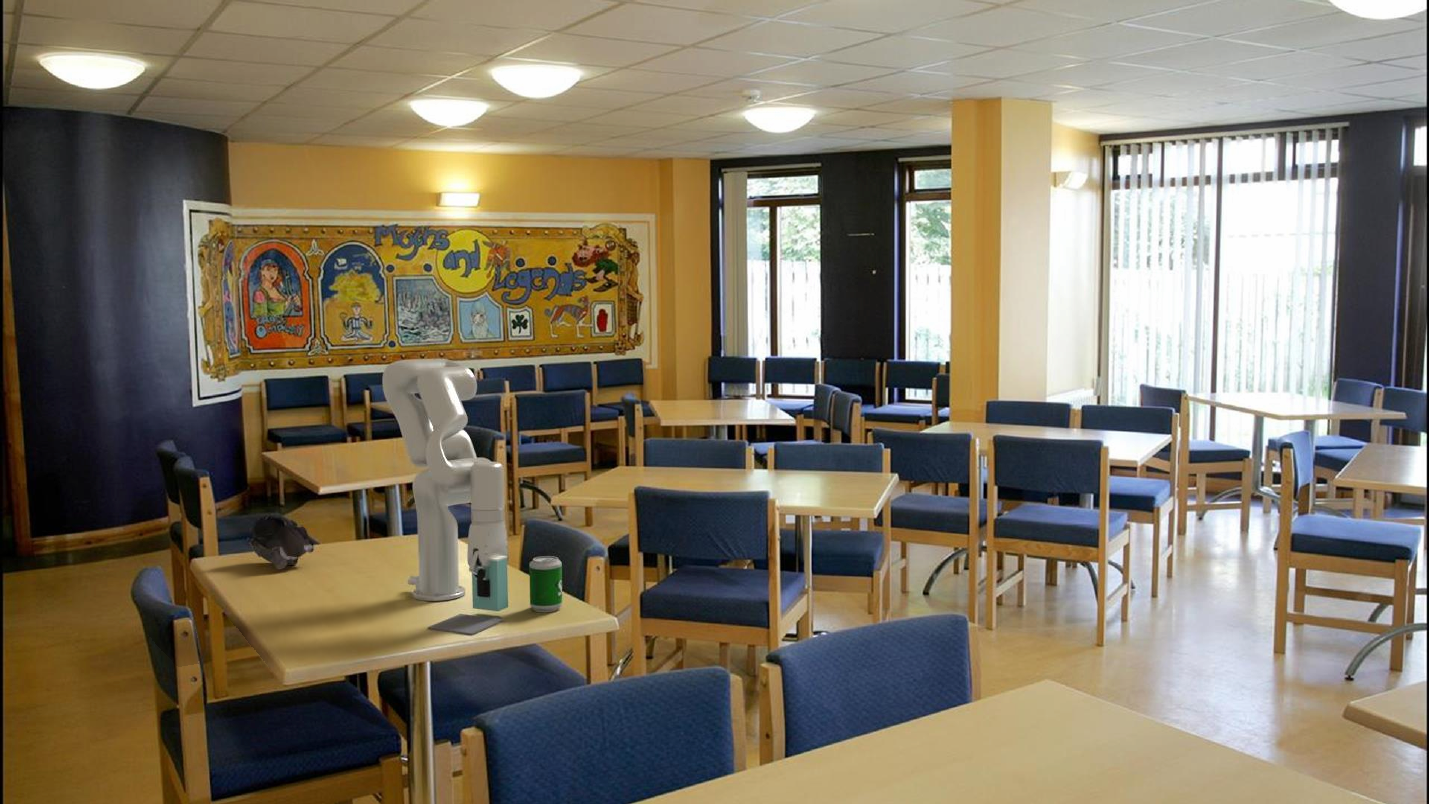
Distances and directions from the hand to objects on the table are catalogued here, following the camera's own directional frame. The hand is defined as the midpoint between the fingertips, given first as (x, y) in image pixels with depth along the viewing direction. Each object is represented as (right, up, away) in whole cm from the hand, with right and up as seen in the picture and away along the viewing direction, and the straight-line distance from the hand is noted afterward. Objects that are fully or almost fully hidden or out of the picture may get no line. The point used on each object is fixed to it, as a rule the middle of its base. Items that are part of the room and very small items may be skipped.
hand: (489, 593), depth 263 cm
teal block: (0, -3, 0) cm, 3 cm away
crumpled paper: (-69, -1, +51) cm, 85 cm away
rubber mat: (-4, -6, -8) cm, 10 cm away
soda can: (+12, -5, +6) cm, 14 cm away
